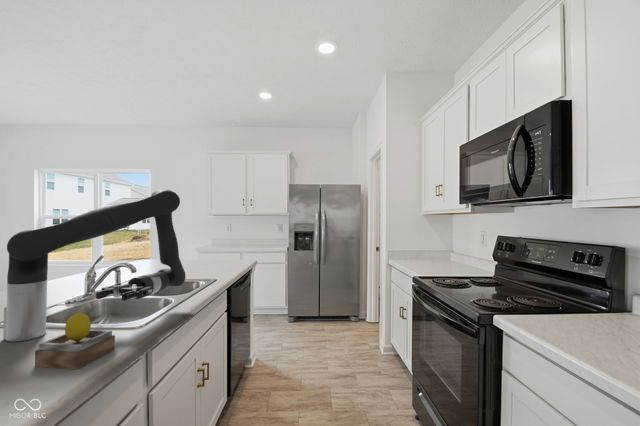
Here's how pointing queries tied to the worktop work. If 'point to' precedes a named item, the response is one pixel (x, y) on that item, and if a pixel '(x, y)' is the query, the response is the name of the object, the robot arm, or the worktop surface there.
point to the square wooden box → (74, 350)
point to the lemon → (77, 327)
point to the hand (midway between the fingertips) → (109, 296)
